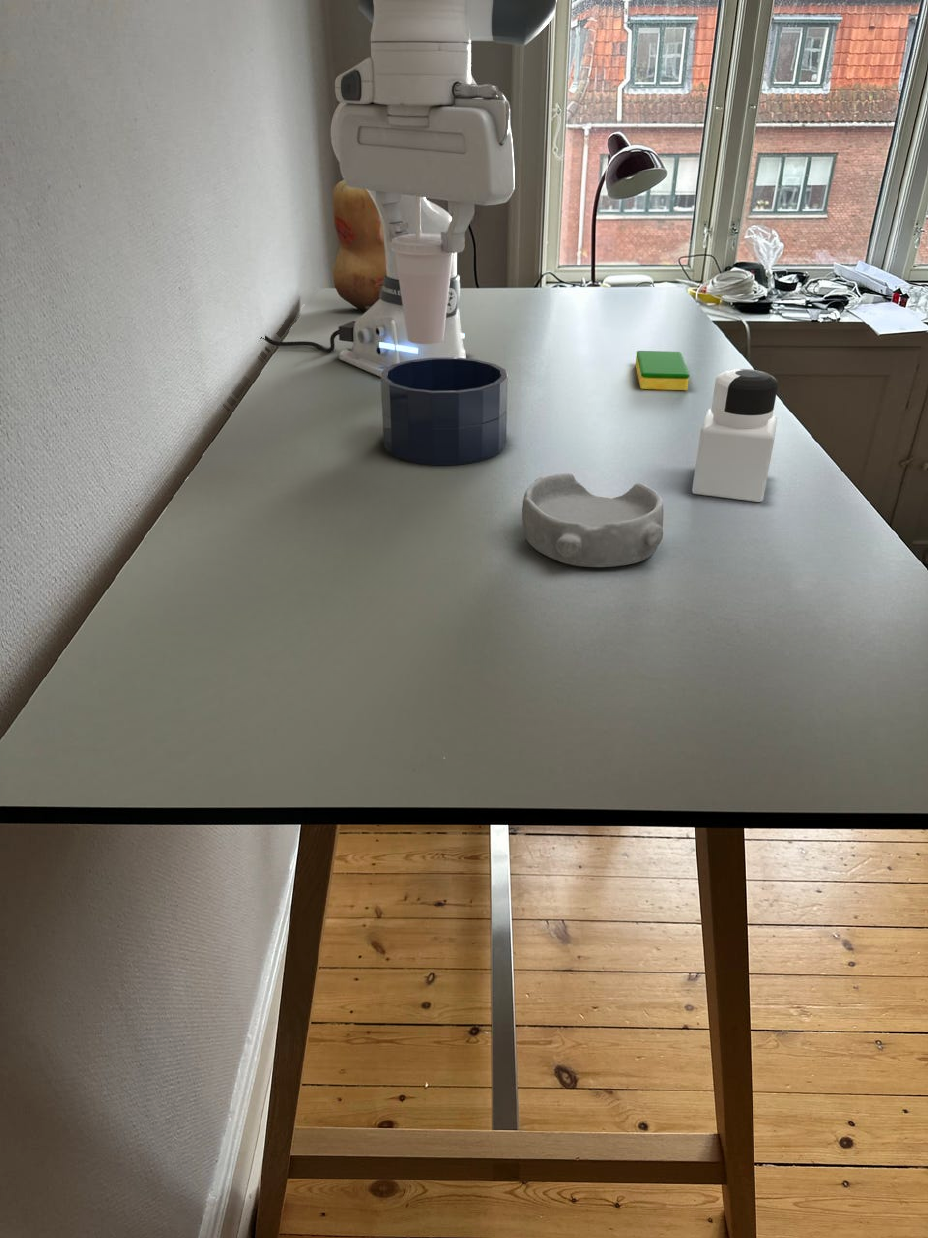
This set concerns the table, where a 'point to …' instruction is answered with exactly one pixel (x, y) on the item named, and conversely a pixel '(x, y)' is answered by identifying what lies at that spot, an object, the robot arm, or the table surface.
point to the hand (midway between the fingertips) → (424, 246)
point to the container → (737, 437)
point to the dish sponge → (661, 370)
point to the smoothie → (423, 282)
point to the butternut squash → (358, 246)
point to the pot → (444, 410)
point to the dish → (591, 522)
